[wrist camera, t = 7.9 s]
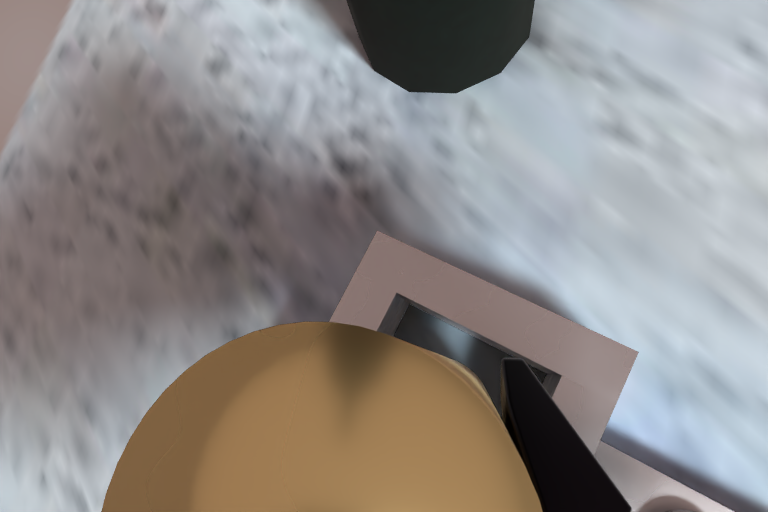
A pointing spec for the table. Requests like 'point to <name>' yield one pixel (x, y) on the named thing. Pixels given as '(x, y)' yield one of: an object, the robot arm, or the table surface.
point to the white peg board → (518, 353)
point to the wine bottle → (441, 39)
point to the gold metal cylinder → (322, 432)
